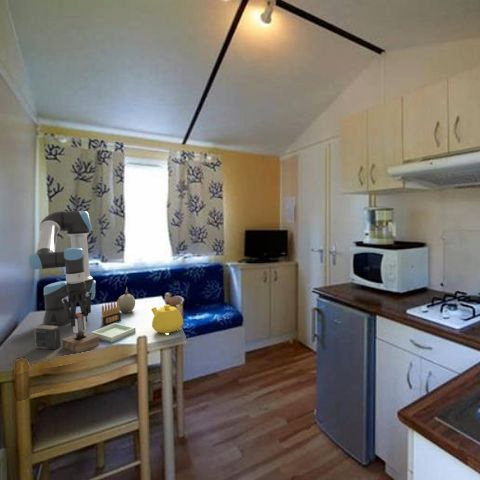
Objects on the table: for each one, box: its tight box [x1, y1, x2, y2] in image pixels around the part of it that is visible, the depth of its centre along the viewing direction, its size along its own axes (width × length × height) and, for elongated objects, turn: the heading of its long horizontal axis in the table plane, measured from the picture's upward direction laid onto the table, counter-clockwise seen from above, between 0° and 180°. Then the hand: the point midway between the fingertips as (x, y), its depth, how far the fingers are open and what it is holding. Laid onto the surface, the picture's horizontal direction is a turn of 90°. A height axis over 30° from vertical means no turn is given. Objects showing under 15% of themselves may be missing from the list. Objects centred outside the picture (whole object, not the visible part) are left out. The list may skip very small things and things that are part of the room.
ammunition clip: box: [100, 300, 122, 327], centre depth 164 cm, size 11×2×12 cm, turn 144°
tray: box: [90, 322, 137, 343], centre depth 147 cm, size 16×14×2 cm
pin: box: [75, 312, 85, 341], centre depth 134 cm, size 3×3×13 cm
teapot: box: [151, 304, 184, 334], centre depth 150 cm, size 20×16×14 cm
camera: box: [33, 324, 62, 350], centre depth 134 cm, size 11×6×10 cm, turn 75°
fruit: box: [117, 287, 136, 314], centre depth 182 cm, size 10×12×15 cm
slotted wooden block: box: [61, 331, 100, 354], centre depth 134 cm, size 12×10×4 cm
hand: (79, 330), depth 134 cm, fingers closed on pin, 3 cm apart
